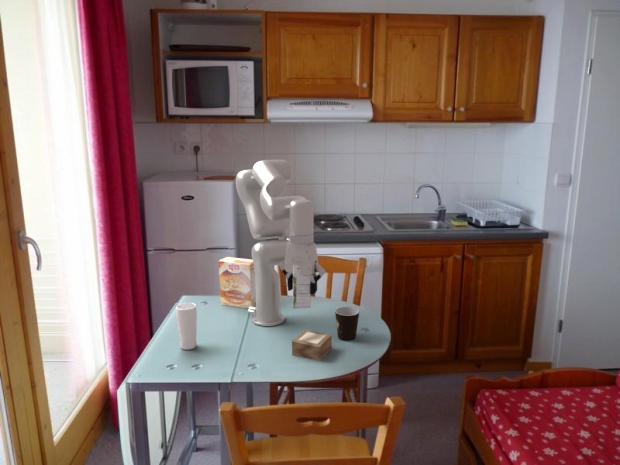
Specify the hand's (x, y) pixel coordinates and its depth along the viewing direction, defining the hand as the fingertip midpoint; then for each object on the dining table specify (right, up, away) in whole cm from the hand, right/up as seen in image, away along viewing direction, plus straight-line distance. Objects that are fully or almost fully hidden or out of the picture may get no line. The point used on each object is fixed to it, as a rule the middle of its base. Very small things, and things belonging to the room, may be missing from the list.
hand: (302, 291), depth 160 cm
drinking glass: (-39, -21, +10) cm, 45 cm away
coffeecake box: (-27, -12, +49) cm, 58 cm away
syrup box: (0, -5, +1) cm, 5 cm away
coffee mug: (+16, -18, +18) cm, 30 cm away
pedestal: (+3, -21, +6) cm, 22 cm away
